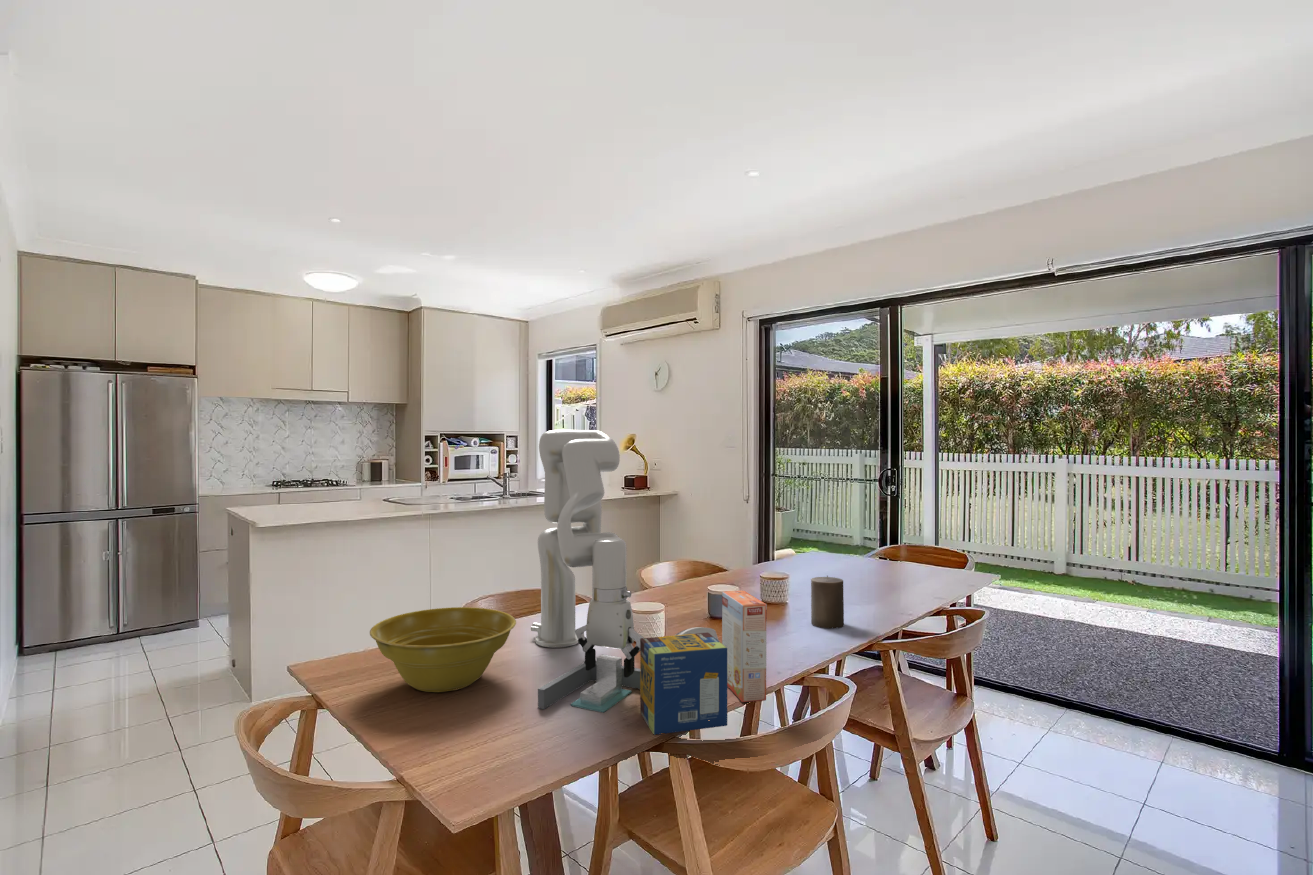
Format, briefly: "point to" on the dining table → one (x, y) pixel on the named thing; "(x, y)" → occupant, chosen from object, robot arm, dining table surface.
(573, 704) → the mat
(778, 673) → the dining table surface
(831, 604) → the pillar candle
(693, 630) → the white black slab
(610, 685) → the grey l-shaped block
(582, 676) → the corner walls
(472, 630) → the planter bowl
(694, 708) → the protein box
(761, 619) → the cracker box
